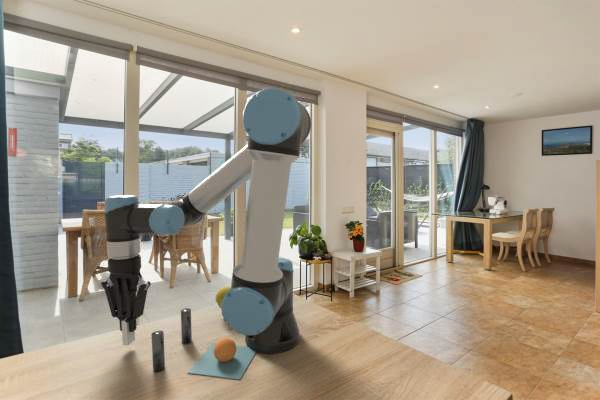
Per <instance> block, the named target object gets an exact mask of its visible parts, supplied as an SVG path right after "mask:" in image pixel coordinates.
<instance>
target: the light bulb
mask: <svg viewBox="0 0 600 400" xmlns="http://www.w3.org/2000/svg"><path fill="white" fill-rule="evenodd" d="M230 289H231V286H224V287H222V288H219V290H218V291H217V292H216V294H215V302H216V304H217V306H218V307H219V308H220V309H221V305H222V300H223V298H224V296H225V295H226V293H227V292H228V291H229V290H230ZM221 316H222V319H223V320H225V319H224V318H223V315H222V314H221Z"/></svg>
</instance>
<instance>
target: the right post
mask: <svg viewBox="0 0 600 400" xmlns="http://www.w3.org/2000/svg"><path fill="white" fill-rule="evenodd" d="M180 324H181V325H180V326H181V328H180V329H181V343H182V344H183V345H187V344H191V342H193V340H192V339H193V338H192V337H193V334H192V331H193V330H192V309H191V308H187V307H186V308H182V309H181V310H180Z"/></svg>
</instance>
